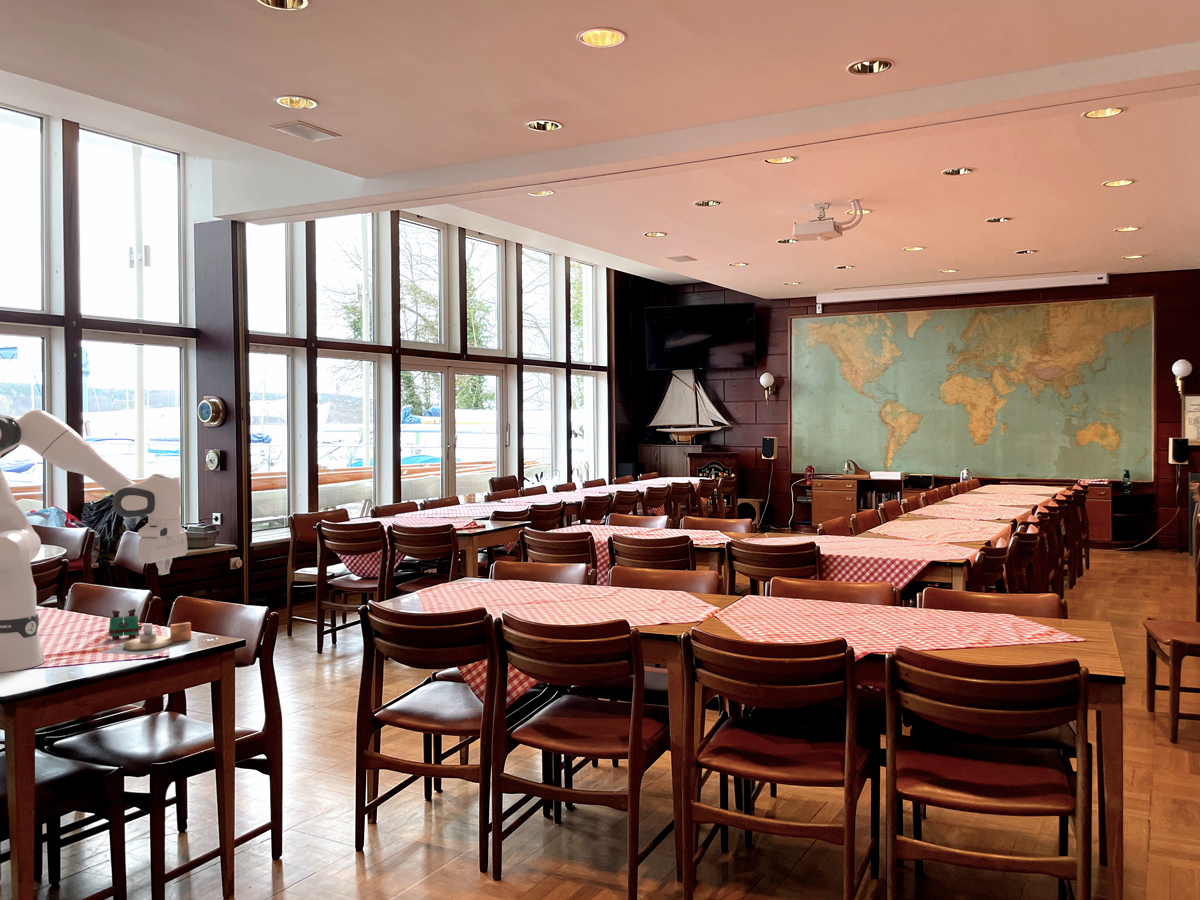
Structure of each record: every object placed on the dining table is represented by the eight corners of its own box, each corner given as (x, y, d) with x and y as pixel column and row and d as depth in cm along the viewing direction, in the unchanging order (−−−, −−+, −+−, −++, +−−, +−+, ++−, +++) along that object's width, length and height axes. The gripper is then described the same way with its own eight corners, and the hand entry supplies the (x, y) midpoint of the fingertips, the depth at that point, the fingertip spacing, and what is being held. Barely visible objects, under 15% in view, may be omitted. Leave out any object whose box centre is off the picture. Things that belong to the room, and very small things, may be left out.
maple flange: (129, 652, 261) (128, 635, 261) (119, 644, 271) (119, 627, 271) (196, 642, 273) (195, 626, 272) (184, 634, 283) (184, 619, 282)
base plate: (99, 657, 262) (98, 630, 262) (147, 641, 282) (147, 616, 281) (148, 660, 258) (148, 633, 258) (194, 644, 278) (194, 618, 278)
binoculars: (142, 606, 289) (138, 609, 280) (142, 639, 288) (138, 642, 279) (111, 608, 286) (106, 611, 276) (111, 641, 285) (106, 645, 276)
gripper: (173, 524, 277) (173, 568, 277) (134, 531, 257) (133, 579, 257) (193, 525, 277) (192, 569, 277) (155, 532, 256) (154, 580, 256)
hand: (163, 574), depth 267 cm, fingers closed
